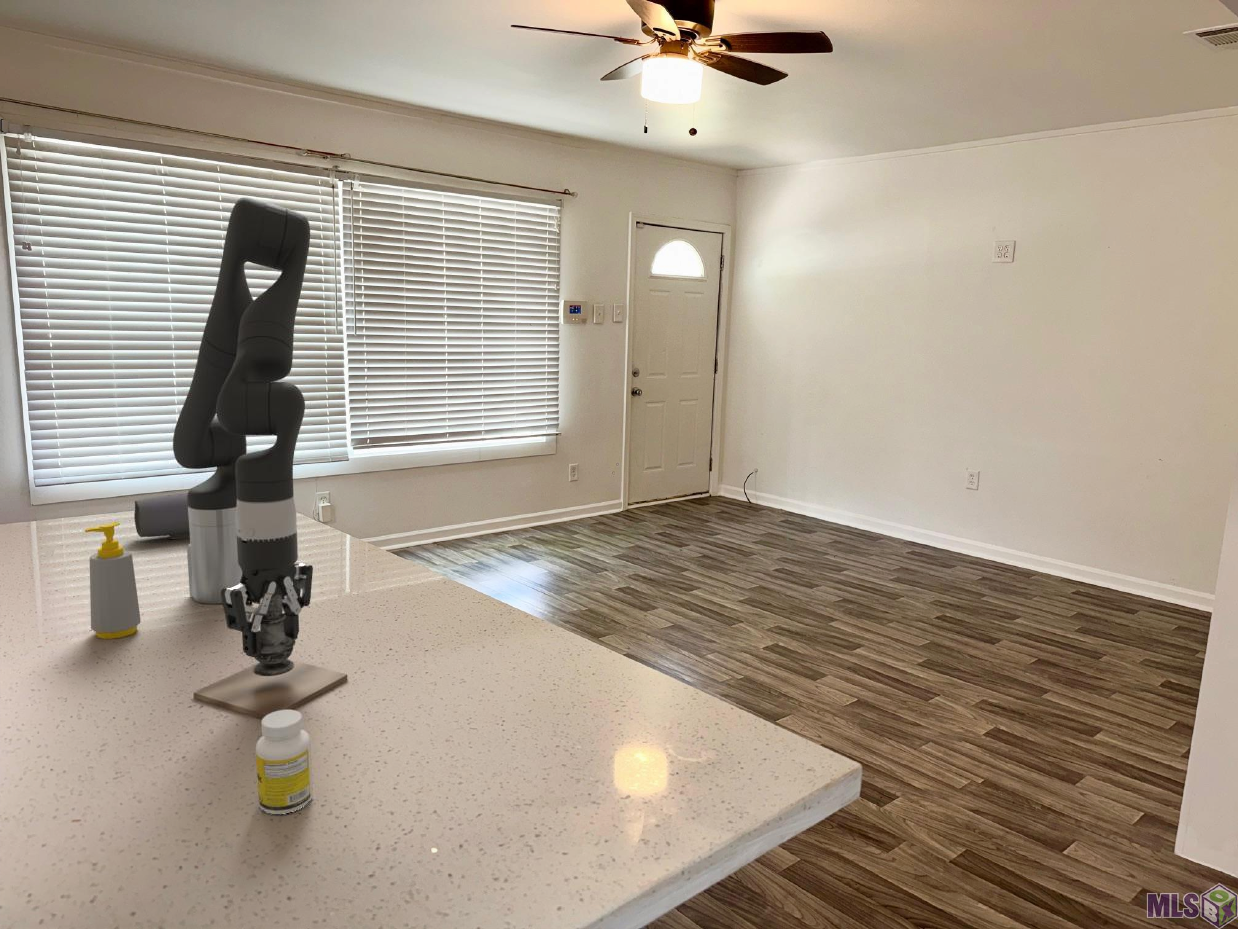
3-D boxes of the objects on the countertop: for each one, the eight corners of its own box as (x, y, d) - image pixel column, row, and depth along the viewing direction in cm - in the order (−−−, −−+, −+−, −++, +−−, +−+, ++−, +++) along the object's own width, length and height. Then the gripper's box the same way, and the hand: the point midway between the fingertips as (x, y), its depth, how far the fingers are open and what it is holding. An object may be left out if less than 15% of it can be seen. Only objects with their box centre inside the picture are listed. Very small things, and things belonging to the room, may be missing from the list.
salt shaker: (304, 660, 116) (301, 580, 114) (283, 678, 110) (279, 594, 108) (264, 657, 116) (260, 577, 114) (241, 675, 111) (237, 591, 109)
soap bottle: (81, 634, 130) (72, 525, 126) (125, 621, 136) (117, 516, 133) (107, 644, 126) (98, 532, 123) (150, 630, 133) (143, 523, 129)
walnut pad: (193, 698, 110) (193, 692, 110) (275, 660, 123) (274, 655, 123) (270, 721, 105) (270, 716, 105) (347, 679, 117) (347, 674, 117)
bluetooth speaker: (241, 524, 199) (240, 483, 197) (253, 532, 192) (251, 491, 190) (135, 537, 184) (132, 494, 182) (143, 547, 177) (140, 502, 175)
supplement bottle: (268, 788, 90) (264, 706, 89) (318, 787, 91) (315, 705, 89) (250, 817, 85) (246, 731, 83) (304, 816, 86) (301, 730, 84)
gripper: (287, 515, 118) (291, 625, 121) (201, 538, 105) (208, 661, 108) (327, 522, 115) (330, 635, 118) (243, 546, 102) (249, 672, 105)
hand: (272, 647), depth 113 cm, fingers closed on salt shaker, 6 cm apart
